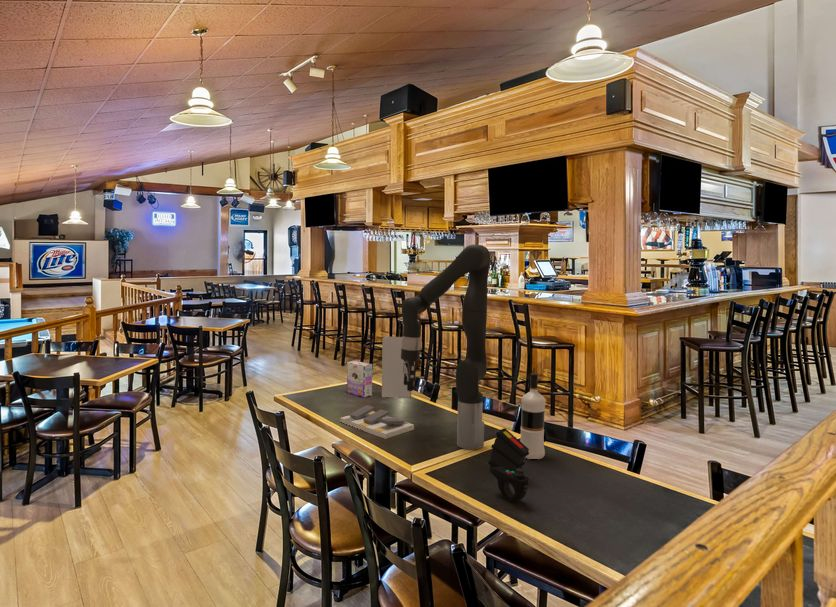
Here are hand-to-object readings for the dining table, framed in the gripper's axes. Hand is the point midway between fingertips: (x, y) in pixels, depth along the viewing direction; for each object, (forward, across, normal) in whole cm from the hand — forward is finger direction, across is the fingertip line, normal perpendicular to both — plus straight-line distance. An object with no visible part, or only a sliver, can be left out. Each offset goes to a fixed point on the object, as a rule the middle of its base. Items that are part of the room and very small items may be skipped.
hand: (408, 387), depth 205 cm
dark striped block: (+16, -45, -26) cm, 55 cm away
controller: (+16, -60, -21) cm, 66 cm away
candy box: (+22, +62, +13) cm, 67 cm away
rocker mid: (+17, +11, +10) cm, 23 cm away
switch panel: (+20, +11, +10) cm, 25 cm away
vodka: (+16, -30, -41) cm, 53 cm away
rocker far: (+17, +19, +15) cm, 30 cm away
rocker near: (+16, +4, +5) cm, 17 cm away
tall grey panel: (+21, +55, -5) cm, 59 cm away
